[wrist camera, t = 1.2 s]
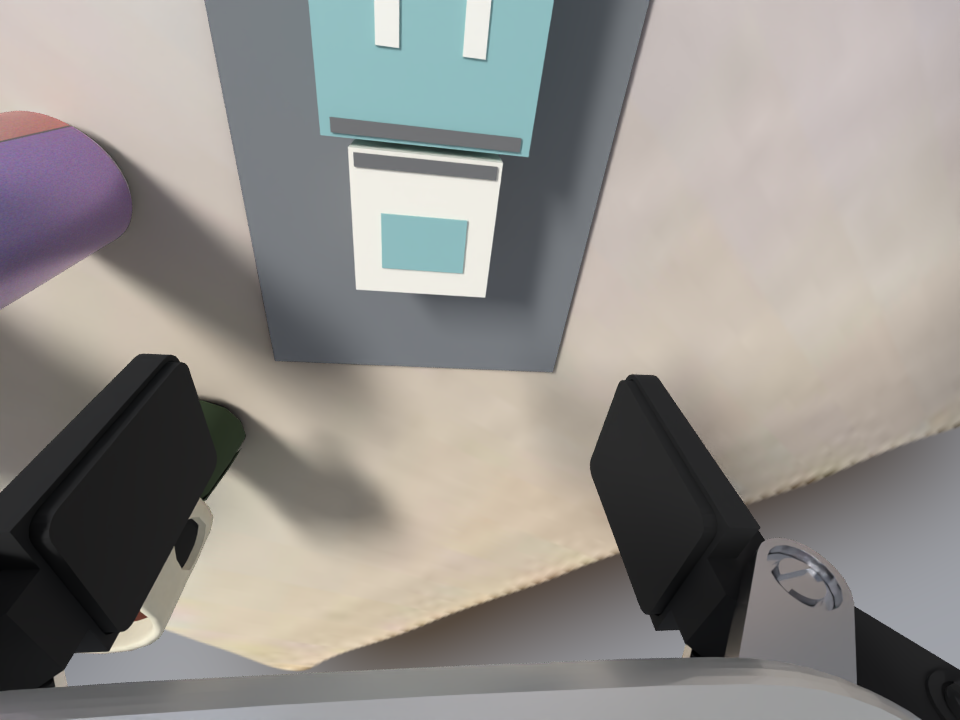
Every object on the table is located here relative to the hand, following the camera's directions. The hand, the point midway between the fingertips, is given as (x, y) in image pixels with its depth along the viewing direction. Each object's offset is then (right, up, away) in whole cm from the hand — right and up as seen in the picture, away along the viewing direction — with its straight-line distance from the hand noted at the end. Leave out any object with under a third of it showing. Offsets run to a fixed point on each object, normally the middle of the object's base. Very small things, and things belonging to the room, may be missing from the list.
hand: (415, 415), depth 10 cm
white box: (-1, +9, +12) cm, 16 cm away
